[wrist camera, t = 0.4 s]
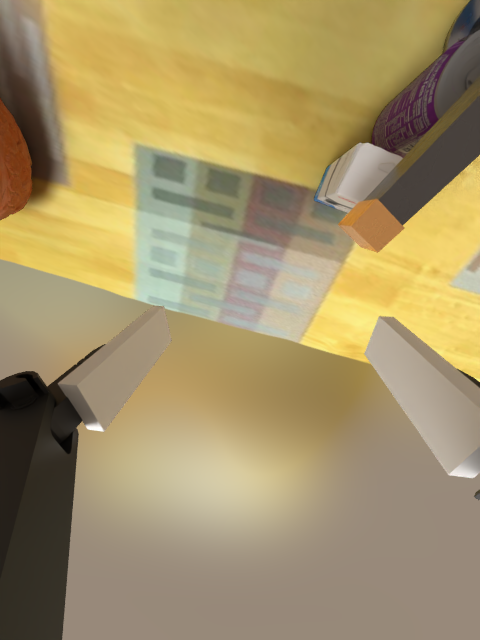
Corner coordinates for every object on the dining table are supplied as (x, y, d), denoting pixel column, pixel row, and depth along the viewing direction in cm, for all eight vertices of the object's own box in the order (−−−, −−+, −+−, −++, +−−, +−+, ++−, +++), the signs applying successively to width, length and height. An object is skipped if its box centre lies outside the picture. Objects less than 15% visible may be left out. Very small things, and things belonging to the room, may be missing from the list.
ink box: (312, 201, 32) (333, 193, 22) (327, 165, 30) (359, 138, 19) (358, 218, 32) (401, 219, 22) (377, 184, 30) (435, 167, 20)
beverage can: (433, 135, 27) (540, 84, 16) (380, 175, 30) (442, 152, 19) (417, 79, 25) (529, -23, 14) (361, 127, 27) (420, 71, 17)
